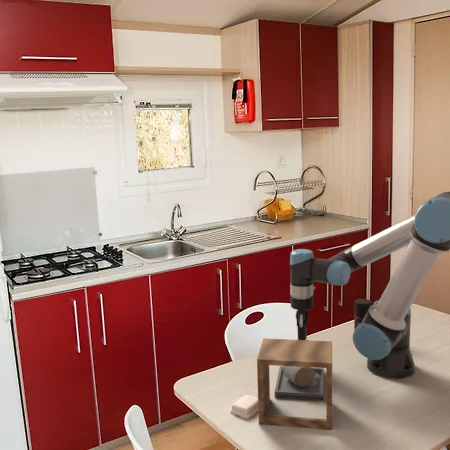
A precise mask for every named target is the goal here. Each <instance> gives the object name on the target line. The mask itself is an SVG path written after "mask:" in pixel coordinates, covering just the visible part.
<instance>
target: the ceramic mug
mask: <svg viewBox="0 0 450 450" xmlns="http://www.w3.org/2000/svg"><path fill="white" fill-rule="evenodd" d="M312 368H313V367H296V366H283V373H284V375H285V376H286V377H287V378H288V379H289V380H291V381H292V382H293V383H294V384H295V385H297V386H299V387H306V386H308V385H309V384H310V383H311V382H312V381H318V379H319V375H318V374H317V373H315V372H314V371H313V370H312Z"/></svg>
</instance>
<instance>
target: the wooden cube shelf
mask: <svg viewBox="0 0 450 450" xmlns="http://www.w3.org/2000/svg"><path fill="white" fill-rule="evenodd" d="M256 363H257V364H256V367H257V369H256V370H257V373H256V374H257V398H258V412H257V414H258V425H262V426H275V427H289V428H299V429H300V428H301V429H315V430H325V431H327V430H328V431H332V430H333V341H329V340H309V339H306V340H298V339H283V338H282V339H281V338H263V339H262V342H261V346H260V348H259V351H258V355H257V358H256ZM270 366H277V367H278V366H279V367H280V366H296V367H311V368H324V369H326V382H325V383H326V385H325V386H326V390H325V392H326V393H325V395H326V398H325V400H326V401H325V402H326V412H325V413H326V414H325V415H326V416H325V417H326V418H315V417H300V416H288V415H287V416H286V415H284V416H283V415H275V414H274V415H272V414H268V410H269V409H268V408H269V405H270V400H271V391H270V390H271V389H270V388H271V387H270V386H271V385H270V383H271V382H270Z"/></svg>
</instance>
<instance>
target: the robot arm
mask: <svg viewBox="0 0 450 450" xmlns="http://www.w3.org/2000/svg"><path fill="white" fill-rule="evenodd" d="M406 247H407V248H406ZM403 248H406V250H405V251H404V253H403V255H402V257H401V259H400V261H399V263H398V265H397V267H396V269H395V270H394V272H393V274H392V276H391V278H390V279H389V281H388V284H387V285H386V287H385V289H384V291H383V292H382V294H381V297H379V300H376V301H374V302H373V305H372V304H371V307H370V308H369V310H368V312H367V313H366V315H365V317H364V319H363V321H362V323H361V324H360V325H358V326H357V327H356V329H355V331H354V330H353V333H352V342H353V344H354V347H355V349H356V350H357V351H358V353H359V354H360V355H361V356H363V357H365V358H367V360H366V368H367V369H368V371H370V373H372V374H374V375H376V376H378V377H382V378H386V379H403V378H404V379H405V378H408V377H410V376H412V375H413V374H414V373H415V368H416V365H415V361H414V357H413V354H412V351H411V348H410V346H411V343H410V342H411V321H412V320H411V319H412V318H411V316H412V310H411V309H412V308H411V307H412V305H413V304H414V302H415V300H416V298H417V297H418V294H419V292H420V291H421V289H422V287H423V285H424V284H425V282H426V280H427V278H428V276H429V275H430V273H431V271H432V270H433V268H434V266H435V264H436V263H437V261H438V259H439V258H440V255H441V254H443V253H448V252H449V251H450V191H444V192H441V193H440V194H438V195H436V196H433V197H430V198H429V199H427V200H425V201H424V202H423V203H422V204H421V205H420V206H419V207H418V209H417V211H416V213H415V214H413V215H411V216H409V217H407V218H405V219H404V220H401V221H399V222H397V223H396V224H394V225H391V226H390V227H388V228H386V229H384V230H382V231H379V232H378V233H375V234H373V235H372V236H370V237H368V238H366V239H364V240H362V241H360V242H358V243H356V244H354V245H353V246H351V247H348V248H347V249H346V248H345V249H344V250H342V251H340V252H338V253H337V254H336V255H333V256H332V257H330V258H328V259H326V258H325V259H324V258H318V257H315V256H314V252H313V250H310V249H306V248H298V249H294V250H292V251H291V252H290V256H289V257H290V259H289V265H290V266H289V267H290V268H289V269H290V270H289V271H290V273H289V274H290V275H289V276H290V283H289V284H290V285H289V288H290V289H289V291H290V292H289V295H290V308H291V309H294V310H296V311H295V312H296V313H295V320H296V327H297V340H307V327H308V318H309V310H312V309H313V307H314V290H316V286H314V282H315V283H316V282H318V283H323V284H328V285H333V286H345V285H347V284H348V282H349V280H350V278H351V273H353V272H355V271H358V270H360V269H361V268H363V267H365V266H367V265H369V264H371V263H373V262H375V261H379V260H380V259H382V258H384V257H386V256H388V255H390V254H392V253H393V254H394V253H395V252H397V251H399V250H401V249H403Z"/></svg>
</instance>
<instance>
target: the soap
mask: <svg viewBox="0 0 450 450" xmlns="http://www.w3.org/2000/svg"><path fill="white" fill-rule="evenodd" d="M256 413H257V414H258V396H257V397H256V396H253V395H250V394H245V395H244V396H242V397H241V398H239V399H238V400H237V401H236V402H235V403H233V404H232V405H231V409H230V414H231V415H233V416H239V417H240V418H243V419H251V418H252V417H253V416H254V415H256Z"/></svg>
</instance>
